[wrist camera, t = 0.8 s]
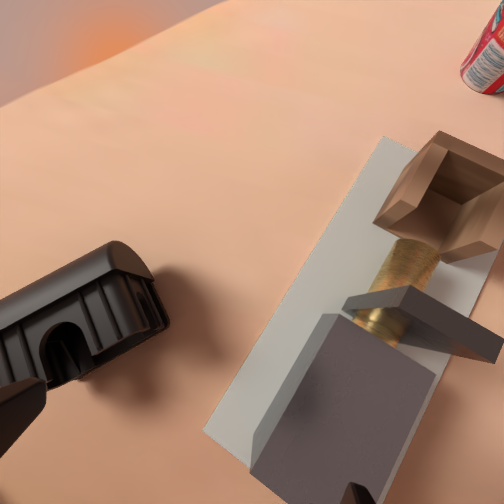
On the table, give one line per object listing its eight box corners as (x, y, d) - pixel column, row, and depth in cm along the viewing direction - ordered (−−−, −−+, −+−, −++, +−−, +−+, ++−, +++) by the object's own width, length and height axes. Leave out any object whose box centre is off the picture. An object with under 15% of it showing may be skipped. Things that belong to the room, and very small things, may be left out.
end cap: (144, 252, 23) (97, 227, 17) (178, 322, 22) (139, 326, 15) (42, 307, 22) (-50, 304, 16) (69, 384, 21) (-22, 417, 14)
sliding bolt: (325, 472, 18) (383, 625, 9) (271, 432, 19) (278, 537, 10) (428, 270, 21) (547, 238, 12) (378, 242, 21) (457, 194, 13)
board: (357, 551, 17) (358, 555, 17) (203, 429, 19) (202, 430, 19) (518, 203, 22) (521, 201, 22) (382, 137, 25) (383, 135, 24)
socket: (446, 263, 21) (498, 250, 17) (371, 223, 22) (400, 199, 18) (477, 202, 22) (533, 173, 18) (404, 166, 23) (439, 130, 19)
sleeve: (329, 492, 18) (352, 555, 13) (253, 433, 19) (249, 473, 14) (395, 360, 20) (436, 374, 15) (322, 313, 21) (339, 313, 16)
